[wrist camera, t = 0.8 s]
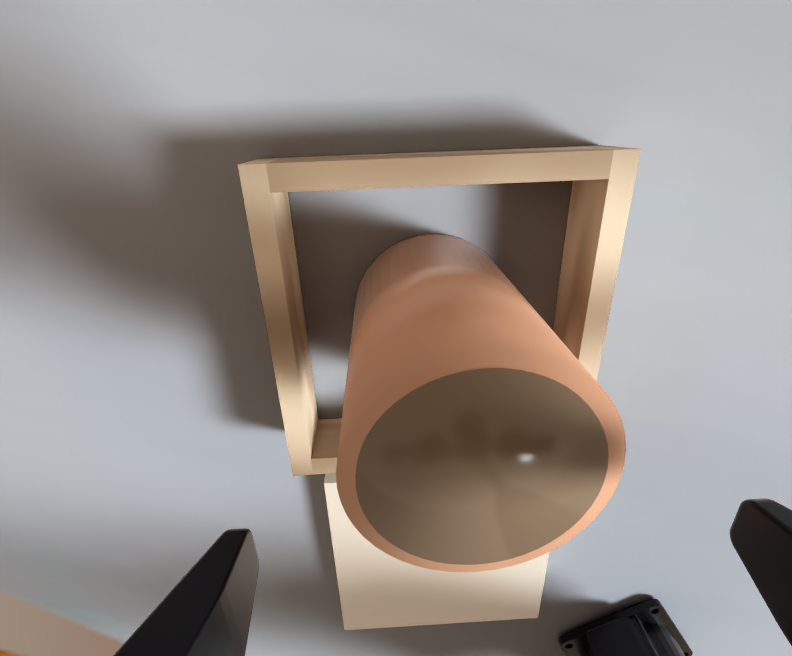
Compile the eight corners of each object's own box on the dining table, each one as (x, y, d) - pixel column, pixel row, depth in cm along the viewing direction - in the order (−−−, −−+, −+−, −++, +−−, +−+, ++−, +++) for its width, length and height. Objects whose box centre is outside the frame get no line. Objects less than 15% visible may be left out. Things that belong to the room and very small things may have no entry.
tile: (533, 603, 25) (537, 617, 25) (345, 615, 25) (344, 630, 24) (556, 458, 21) (563, 470, 20) (325, 470, 20) (323, 483, 20)
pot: (531, 326, 18) (668, 502, 9) (409, 397, 19) (434, 608, 11) (458, 201, 15) (551, 288, 7) (324, 291, 17) (272, 454, 8)
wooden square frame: (558, 421, 20) (581, 459, 17) (302, 434, 19) (293, 475, 17) (600, 145, 15) (641, 148, 12) (259, 158, 14) (237, 164, 12)
